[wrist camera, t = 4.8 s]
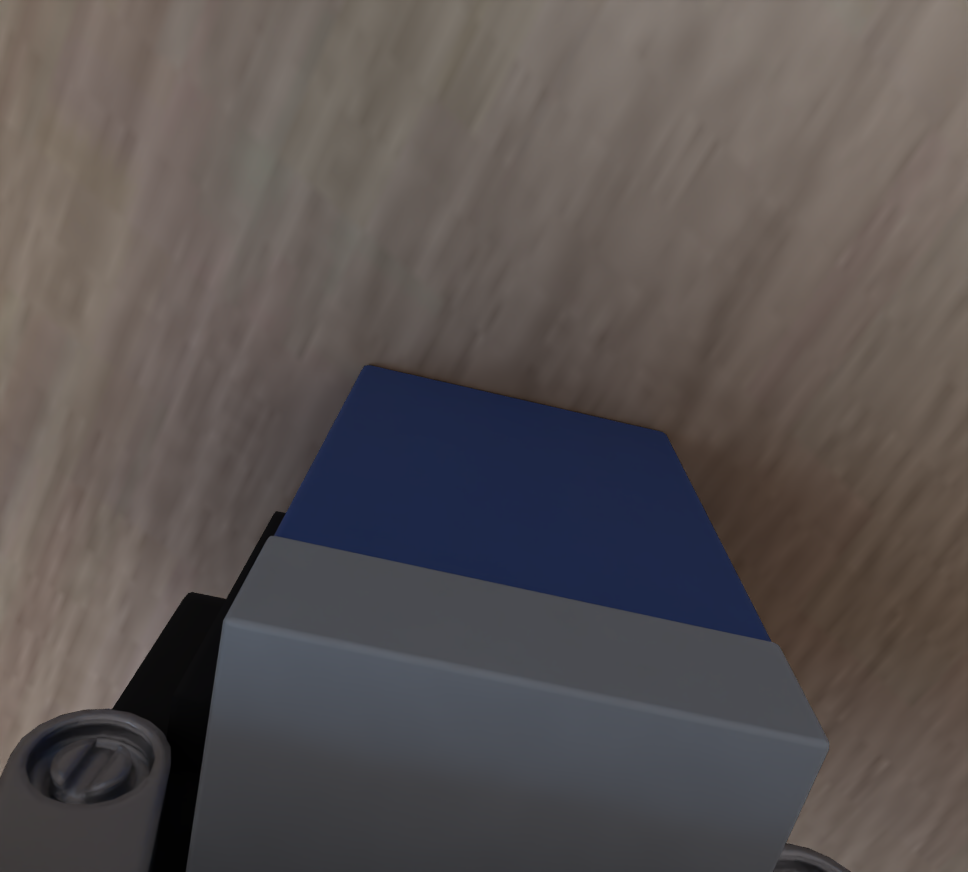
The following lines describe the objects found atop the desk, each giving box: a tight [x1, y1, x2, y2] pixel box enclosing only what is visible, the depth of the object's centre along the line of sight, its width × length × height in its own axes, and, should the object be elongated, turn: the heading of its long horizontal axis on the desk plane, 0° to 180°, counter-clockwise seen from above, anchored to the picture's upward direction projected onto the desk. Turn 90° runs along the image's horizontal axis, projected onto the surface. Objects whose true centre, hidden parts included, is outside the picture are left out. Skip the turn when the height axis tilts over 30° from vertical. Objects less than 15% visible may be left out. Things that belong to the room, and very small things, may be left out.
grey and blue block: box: [186, 365, 829, 872], centre depth 10 cm, size 4×7×6 cm, turn 167°
